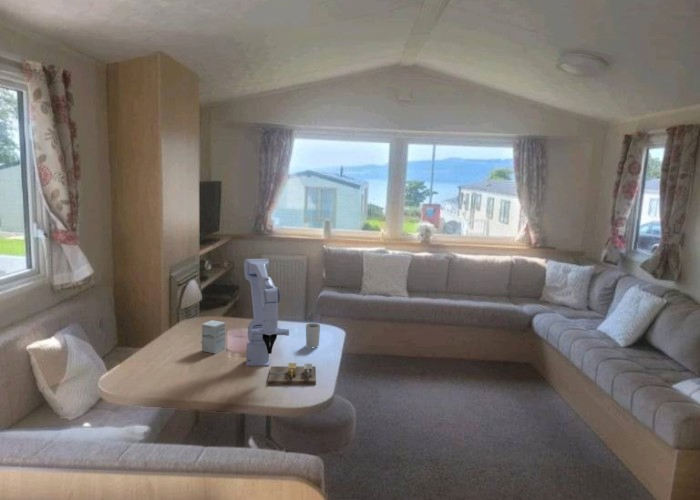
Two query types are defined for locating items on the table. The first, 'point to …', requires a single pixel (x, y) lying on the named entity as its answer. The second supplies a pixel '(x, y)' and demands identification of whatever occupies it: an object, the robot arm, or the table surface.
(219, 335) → the supplement box
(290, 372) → the brass leg
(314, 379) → the gauge board
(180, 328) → the table surface
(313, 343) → the drinking glass
